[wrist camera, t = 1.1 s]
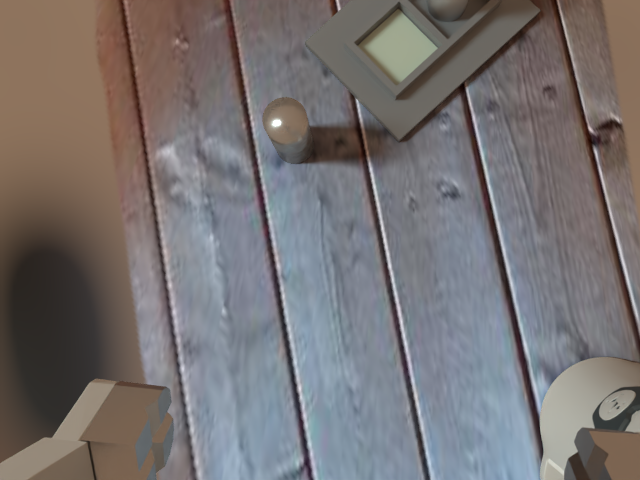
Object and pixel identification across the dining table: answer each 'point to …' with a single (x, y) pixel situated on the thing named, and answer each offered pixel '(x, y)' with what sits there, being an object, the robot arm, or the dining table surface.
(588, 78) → the dining table surface
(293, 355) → the dining table surface
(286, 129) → the cylinder
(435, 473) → the dining table surface
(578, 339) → the dining table surface
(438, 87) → the grey holder tray
